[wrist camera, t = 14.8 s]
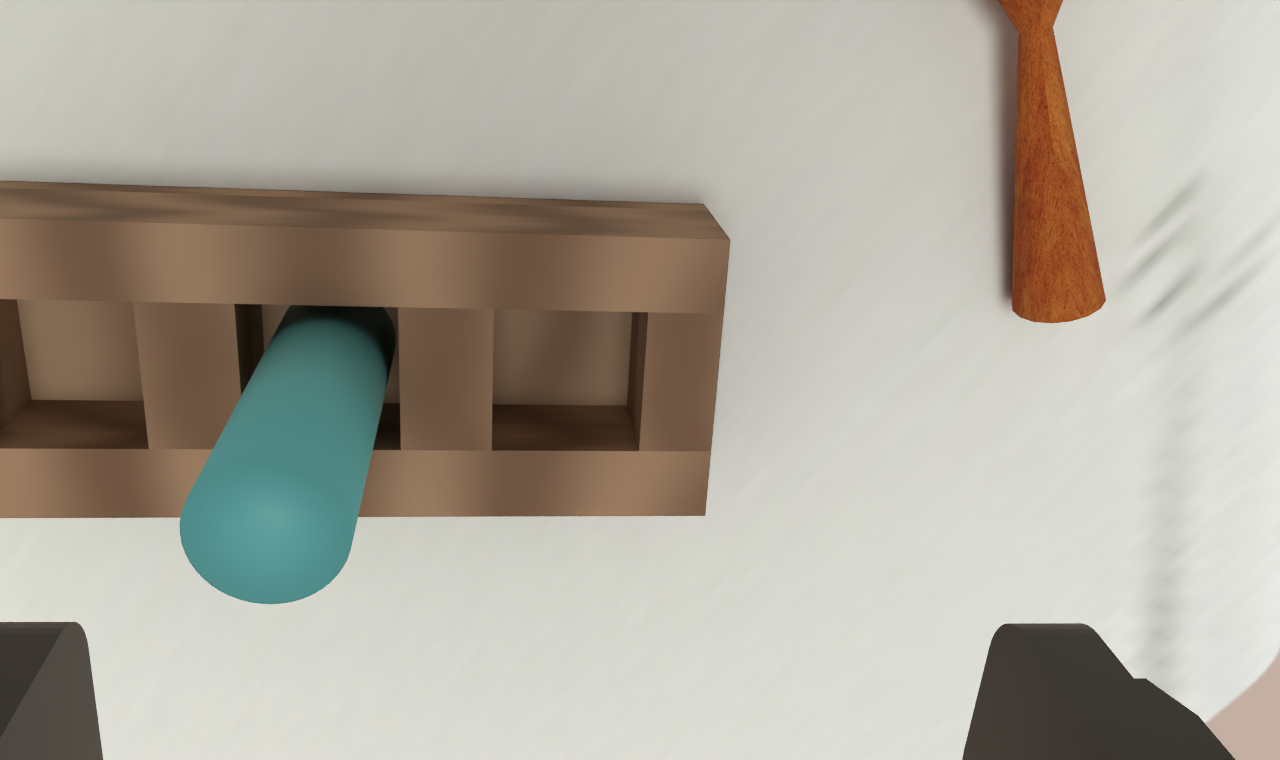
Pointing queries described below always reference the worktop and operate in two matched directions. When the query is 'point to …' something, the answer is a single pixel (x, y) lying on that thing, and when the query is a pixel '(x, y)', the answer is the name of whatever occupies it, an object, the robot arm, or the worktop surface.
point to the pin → (293, 458)
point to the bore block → (424, 353)
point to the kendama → (1048, 183)
